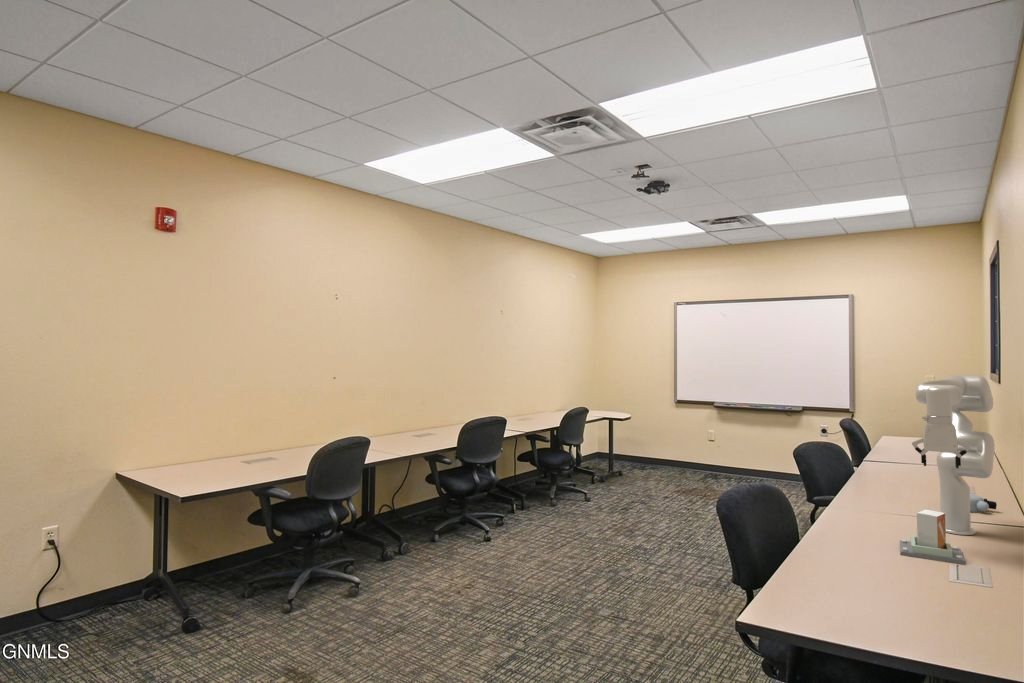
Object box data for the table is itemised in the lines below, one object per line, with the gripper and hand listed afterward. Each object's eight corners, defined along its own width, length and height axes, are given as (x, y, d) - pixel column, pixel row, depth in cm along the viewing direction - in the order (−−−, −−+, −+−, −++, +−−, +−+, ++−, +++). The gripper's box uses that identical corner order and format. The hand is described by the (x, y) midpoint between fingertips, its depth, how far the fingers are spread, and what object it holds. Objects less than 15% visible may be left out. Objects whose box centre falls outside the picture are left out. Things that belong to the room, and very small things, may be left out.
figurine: (941, 509, 265) (998, 520, 255) (943, 490, 265) (1000, 501, 254) (938, 501, 280) (991, 511, 269) (940, 484, 280) (993, 493, 269)
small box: (938, 554, 201) (937, 516, 202) (916, 549, 207) (916, 512, 207) (946, 550, 206) (945, 512, 207) (925, 545, 211) (924, 509, 212)
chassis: (899, 543, 218) (899, 533, 218) (960, 552, 208) (960, 541, 208) (900, 554, 205) (900, 544, 205) (965, 564, 195) (964, 553, 195)
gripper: (911, 420, 218) (912, 466, 219) (970, 422, 209) (971, 470, 209) (910, 418, 225) (912, 462, 225) (967, 420, 215) (969, 466, 215)
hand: (940, 466), depth 217 cm, fingers open, 9 cm apart
